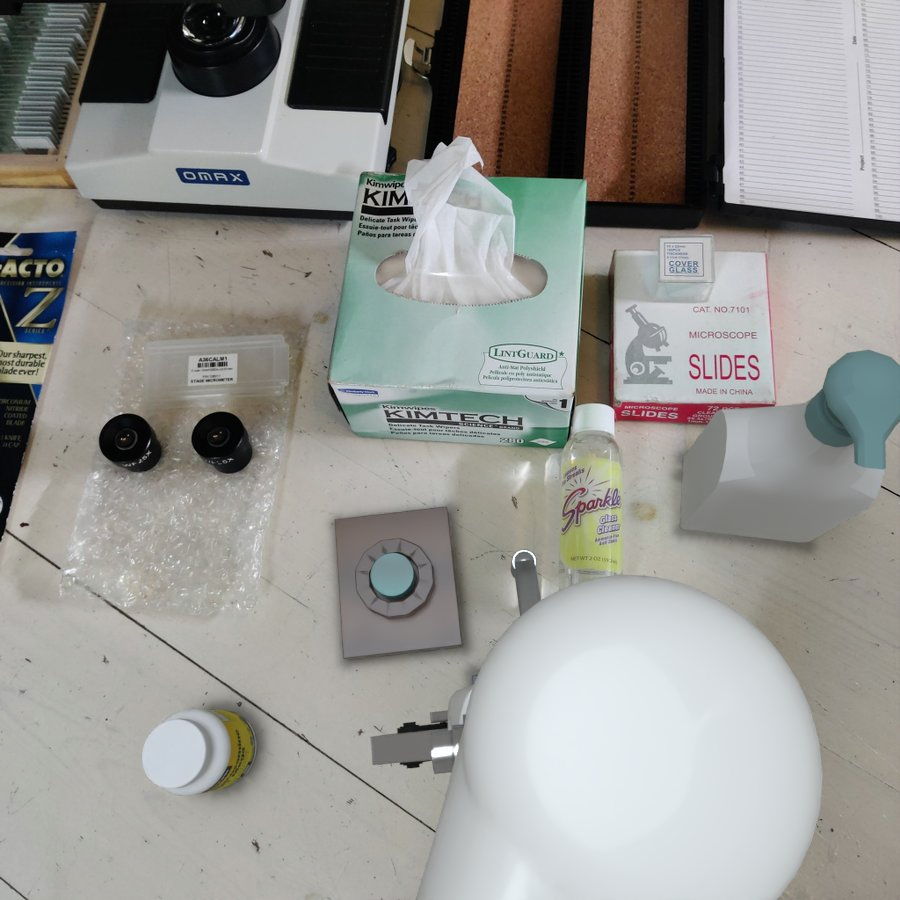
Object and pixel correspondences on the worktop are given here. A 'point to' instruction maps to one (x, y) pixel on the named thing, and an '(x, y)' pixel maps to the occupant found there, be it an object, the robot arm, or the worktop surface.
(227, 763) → the pill bottle
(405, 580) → the button
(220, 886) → the worktop surface
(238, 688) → the worktop surface
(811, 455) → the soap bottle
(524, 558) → the spout
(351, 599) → the button block
